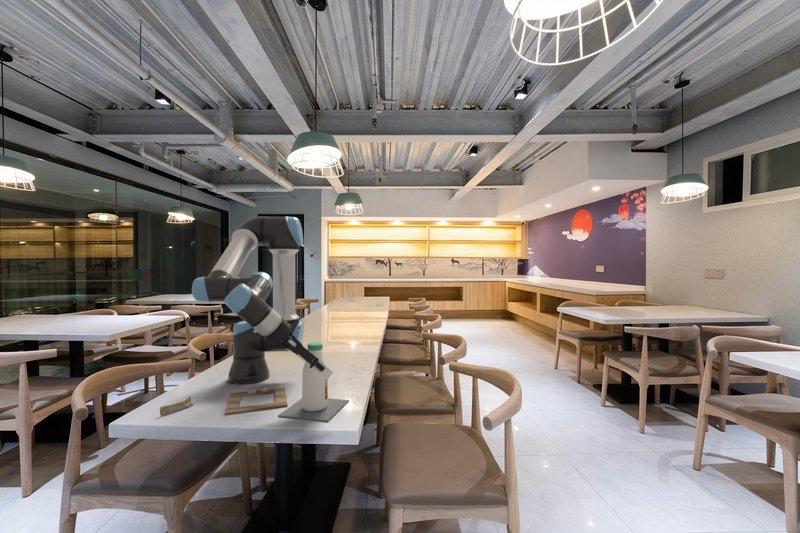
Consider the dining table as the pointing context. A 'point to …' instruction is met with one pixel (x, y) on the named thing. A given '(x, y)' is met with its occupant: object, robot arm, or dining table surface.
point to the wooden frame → (279, 402)
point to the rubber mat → (322, 415)
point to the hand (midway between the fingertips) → (322, 370)
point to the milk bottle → (314, 383)
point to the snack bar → (175, 406)
